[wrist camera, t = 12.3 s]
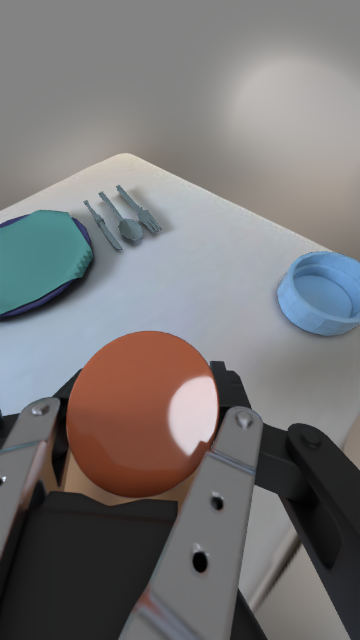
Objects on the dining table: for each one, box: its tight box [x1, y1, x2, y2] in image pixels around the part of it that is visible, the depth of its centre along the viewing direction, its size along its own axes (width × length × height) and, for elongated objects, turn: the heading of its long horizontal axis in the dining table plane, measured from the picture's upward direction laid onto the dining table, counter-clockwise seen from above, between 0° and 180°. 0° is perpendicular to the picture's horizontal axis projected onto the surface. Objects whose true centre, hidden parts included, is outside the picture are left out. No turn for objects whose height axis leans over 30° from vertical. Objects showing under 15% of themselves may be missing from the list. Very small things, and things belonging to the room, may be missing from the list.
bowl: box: [277, 251, 360, 336], centre depth 23 cm, size 9×10×4 cm
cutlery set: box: [0, 185, 162, 317], centre depth 30 cm, size 20×30×2 cm, turn 124°
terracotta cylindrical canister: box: [66, 331, 220, 499], centre depth 11 cm, size 6×6×8 cm
